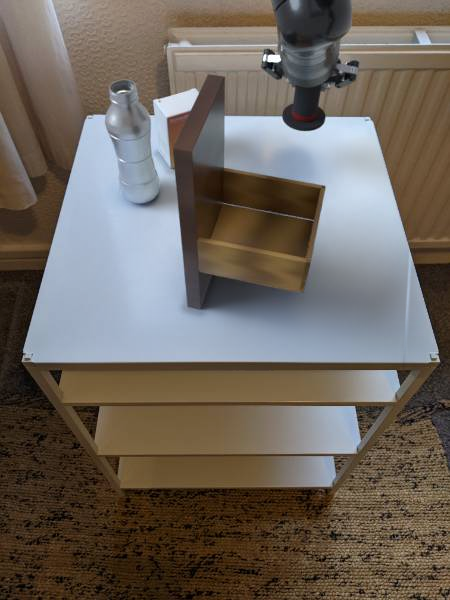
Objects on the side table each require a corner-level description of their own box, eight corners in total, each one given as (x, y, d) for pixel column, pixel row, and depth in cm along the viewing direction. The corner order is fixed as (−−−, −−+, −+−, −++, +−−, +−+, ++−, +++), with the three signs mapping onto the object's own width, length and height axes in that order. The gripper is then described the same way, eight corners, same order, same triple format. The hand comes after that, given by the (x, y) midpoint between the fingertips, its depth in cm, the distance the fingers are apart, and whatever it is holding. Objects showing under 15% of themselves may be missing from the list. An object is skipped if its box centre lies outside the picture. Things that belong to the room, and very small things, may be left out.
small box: (170, 169, 88) (165, 118, 80) (158, 151, 91) (151, 99, 82) (211, 156, 91) (210, 104, 82) (197, 138, 93) (195, 86, 85)
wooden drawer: (308, 259, 77) (347, 95, 54) (294, 330, 70) (331, 175, 47) (211, 239, 79) (207, 73, 56) (187, 306, 72) (172, 147, 49)
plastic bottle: (164, 205, 83) (150, 97, 67) (123, 211, 83) (99, 103, 66) (158, 179, 87) (144, 70, 70) (119, 184, 86) (96, 76, 70)
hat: (327, 108, 84) (336, 62, 77) (322, 134, 80) (331, 88, 73) (286, 102, 85) (291, 56, 78) (278, 127, 81) (283, 81, 74)
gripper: (373, 22, 61) (360, 63, 78) (258, 7, 63) (269, 51, 79) (359, 87, 62) (349, 114, 79) (247, 71, 64) (261, 101, 81)
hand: (309, 82), depth 79 cm, fingers closed on hat, 4 cm apart
